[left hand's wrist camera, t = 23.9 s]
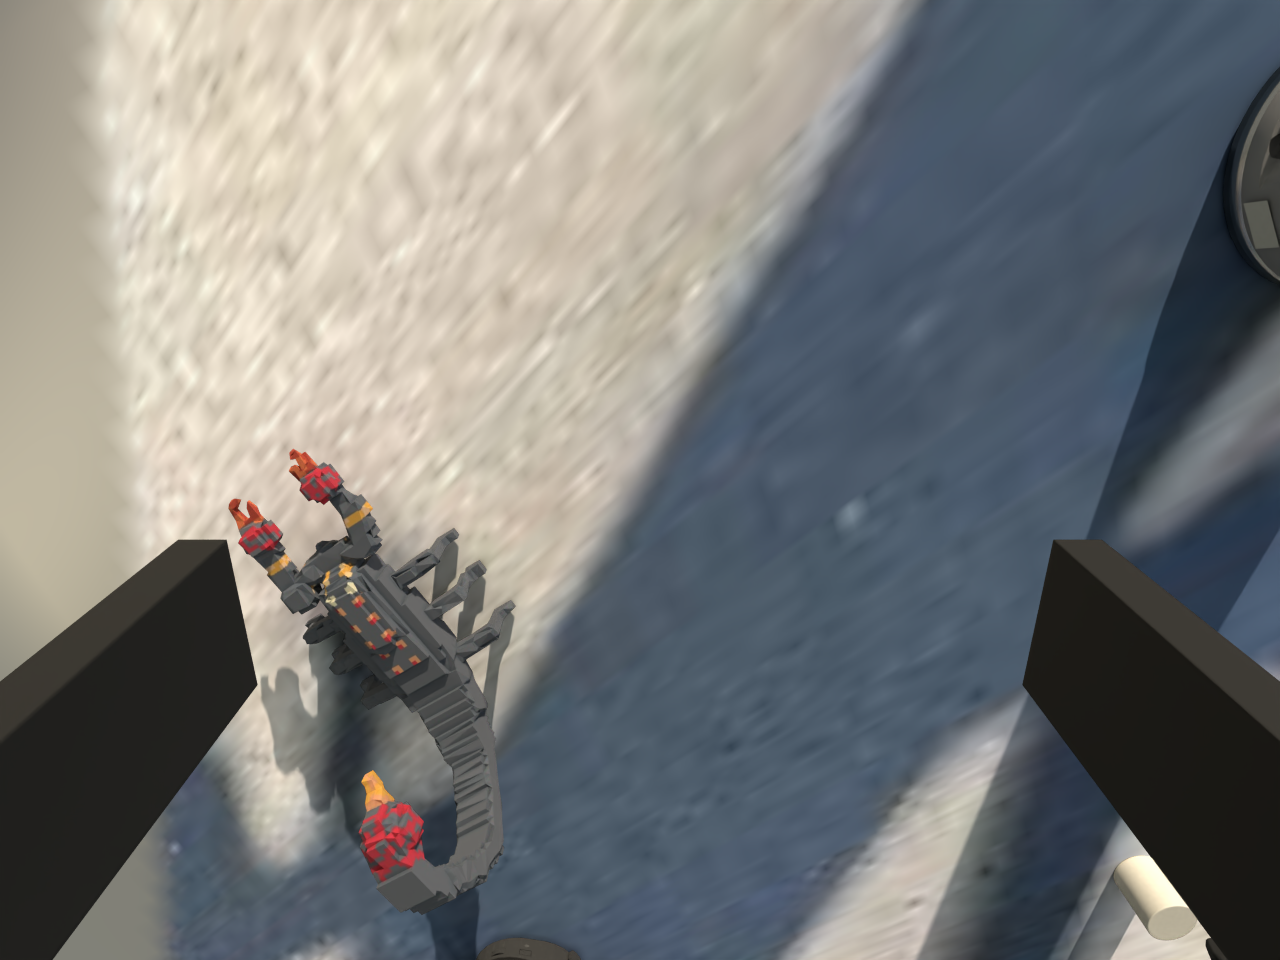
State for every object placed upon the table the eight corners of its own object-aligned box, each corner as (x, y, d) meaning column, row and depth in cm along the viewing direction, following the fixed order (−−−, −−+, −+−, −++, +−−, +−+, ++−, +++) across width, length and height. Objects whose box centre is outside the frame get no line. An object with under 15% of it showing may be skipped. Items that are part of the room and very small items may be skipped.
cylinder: (1103, 879, 66) (1137, 931, 61) (1133, 849, 65) (1169, 899, 60) (1139, 894, 67) (1175, 946, 62) (1168, 864, 65) (1207, 915, 61)
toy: (443, 770, 61) (368, 999, 44) (203, 505, 53) (-3, 663, 36) (585, 694, 59) (563, 907, 42) (356, 404, 51) (211, 521, 34)
